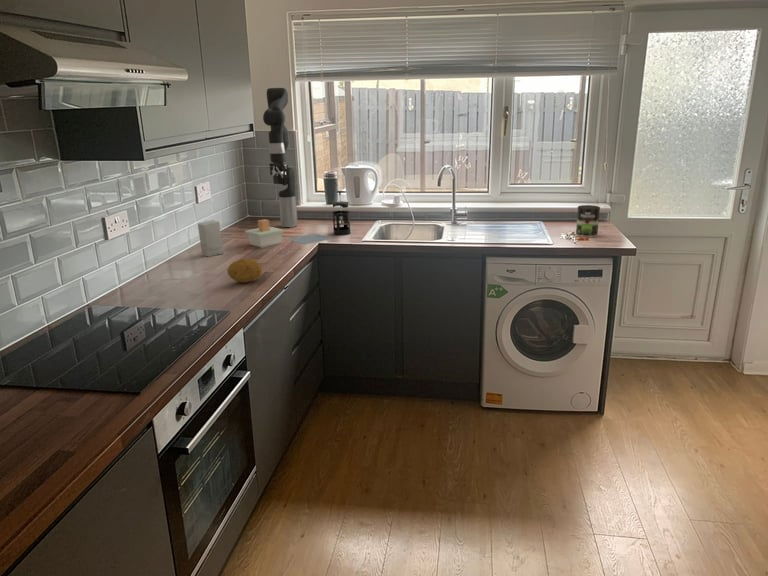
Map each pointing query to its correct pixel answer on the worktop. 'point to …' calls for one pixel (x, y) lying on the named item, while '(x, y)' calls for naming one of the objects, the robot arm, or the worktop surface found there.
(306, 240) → the mat
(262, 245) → the dish
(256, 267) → the potato
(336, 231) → the french press
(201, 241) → the skincare box
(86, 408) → the worktop surface
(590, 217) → the coffee can
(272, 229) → the lid
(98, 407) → the worktop surface
